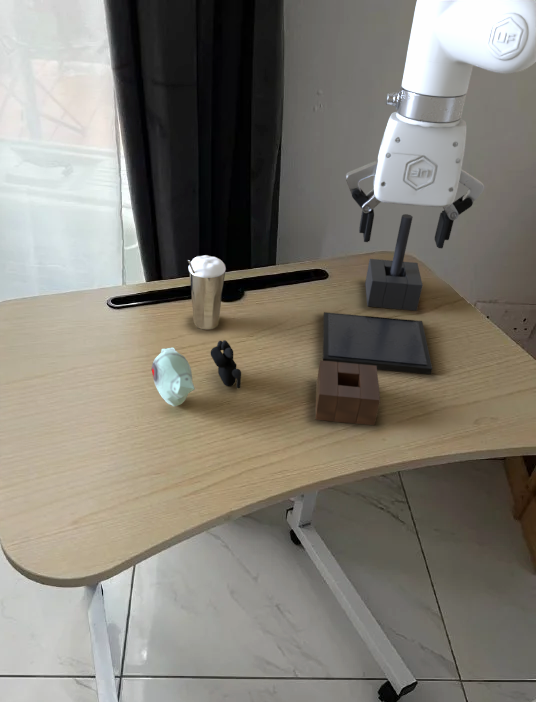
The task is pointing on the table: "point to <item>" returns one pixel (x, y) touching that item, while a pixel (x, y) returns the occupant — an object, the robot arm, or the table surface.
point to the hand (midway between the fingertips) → (402, 241)
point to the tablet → (376, 342)
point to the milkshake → (206, 290)
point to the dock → (393, 285)
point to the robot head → (172, 376)
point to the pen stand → (347, 393)
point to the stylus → (401, 245)
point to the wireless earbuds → (226, 364)
